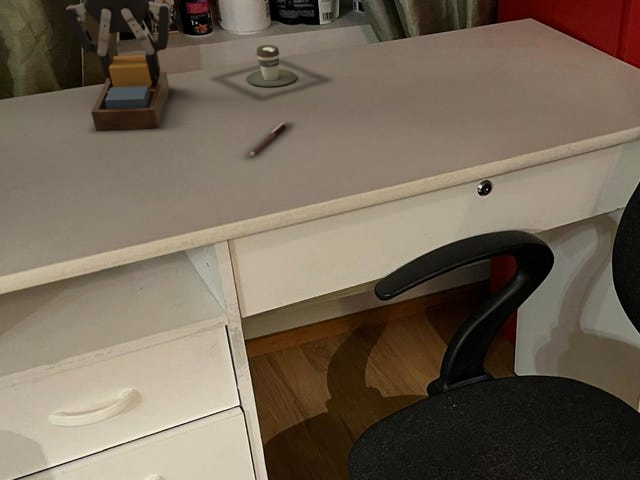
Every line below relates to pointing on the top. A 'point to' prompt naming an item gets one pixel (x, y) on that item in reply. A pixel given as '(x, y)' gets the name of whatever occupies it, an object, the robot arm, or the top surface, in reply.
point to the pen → (269, 138)
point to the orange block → (130, 71)
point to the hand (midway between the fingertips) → (133, 79)
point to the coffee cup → (270, 69)
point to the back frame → (135, 116)
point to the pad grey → (128, 97)
